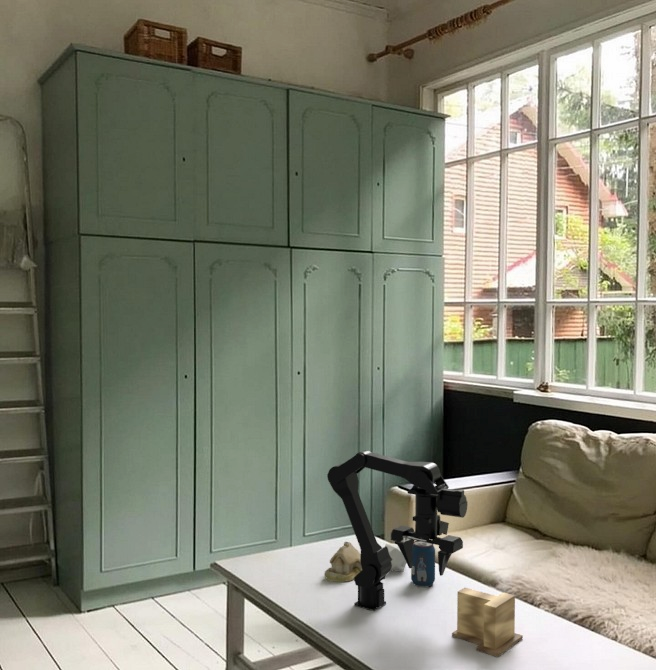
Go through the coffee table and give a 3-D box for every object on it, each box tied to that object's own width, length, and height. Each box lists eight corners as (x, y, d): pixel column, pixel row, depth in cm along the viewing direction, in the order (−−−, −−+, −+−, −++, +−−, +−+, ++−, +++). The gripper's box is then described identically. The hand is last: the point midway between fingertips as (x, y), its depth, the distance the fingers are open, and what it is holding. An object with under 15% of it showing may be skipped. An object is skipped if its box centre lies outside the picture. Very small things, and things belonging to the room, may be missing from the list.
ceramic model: (340, 565, 242) (340, 533, 241) (372, 571, 236) (372, 538, 236) (318, 579, 229) (318, 545, 229) (352, 585, 224) (352, 551, 224)
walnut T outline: (445, 640, 187) (445, 637, 187) (471, 623, 197) (471, 620, 197) (498, 657, 178) (498, 653, 178) (522, 638, 188) (522, 635, 188)
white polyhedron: (400, 578, 231) (416, 550, 234) (375, 563, 233) (391, 535, 235) (397, 579, 239) (412, 551, 242) (373, 564, 240) (389, 537, 243)
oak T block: (450, 635, 188) (450, 595, 187) (470, 622, 195) (471, 583, 195) (495, 649, 180) (495, 607, 180) (514, 635, 188) (515, 595, 187)
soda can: (428, 578, 230) (428, 538, 229) (439, 586, 223) (439, 545, 223) (407, 580, 228) (407, 540, 227) (417, 588, 221) (417, 547, 221)
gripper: (473, 511, 201) (472, 570, 201) (411, 500, 212) (411, 556, 213) (452, 520, 192) (452, 582, 192) (389, 508, 203) (389, 567, 204)
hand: (425, 571), depth 200 cm, fingers open, 9 cm apart
